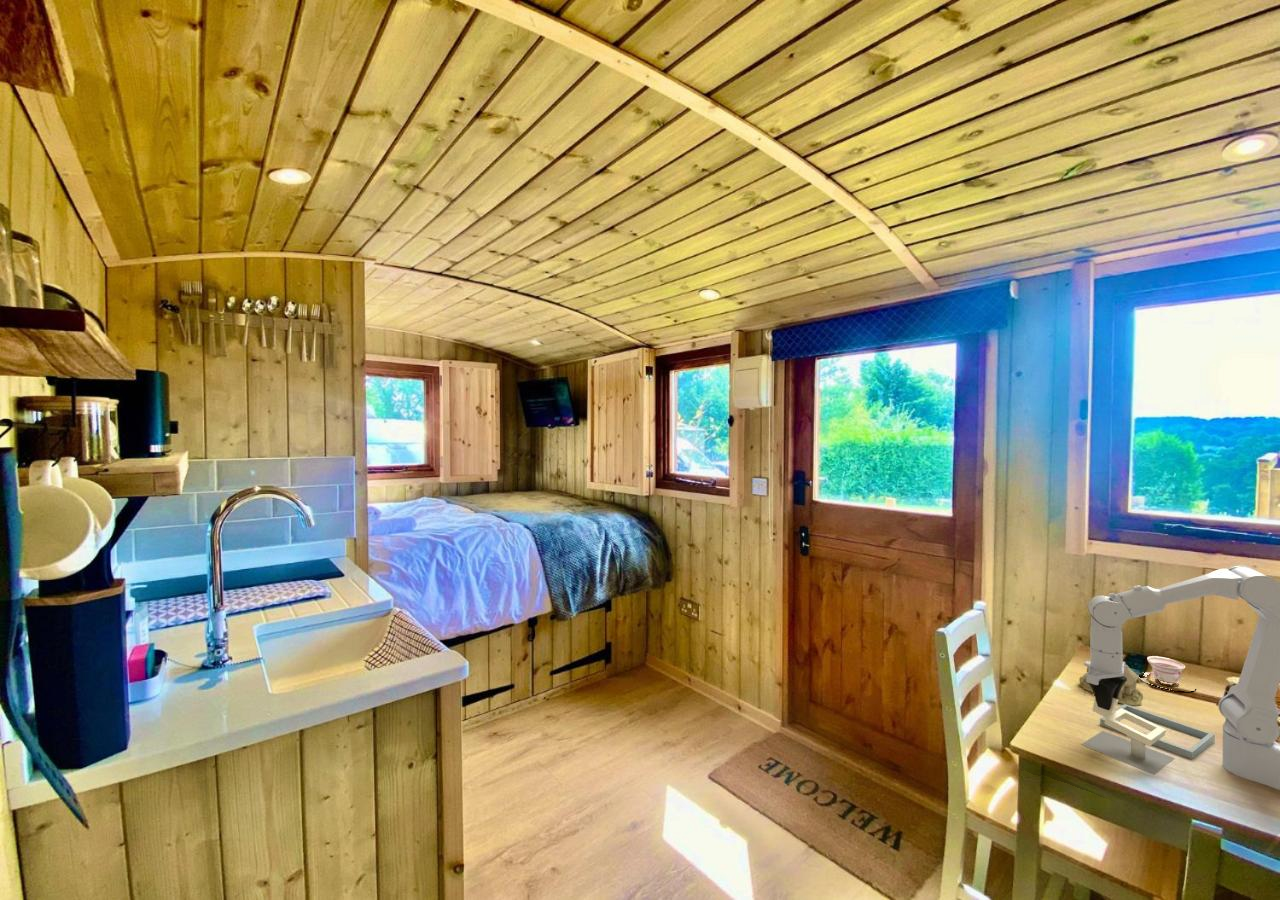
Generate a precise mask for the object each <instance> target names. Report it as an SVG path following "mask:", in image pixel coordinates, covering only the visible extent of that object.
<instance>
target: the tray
mask: <svg viewBox="0 0 1280 900" xmlns="http://www.w3.org/2000/svg"><path fill="white" fill-rule="evenodd" d="M1121 708H1122V709H1124V710H1126V711H1129V712H1131V713H1133V714H1135V715H1137V716H1139V717H1141V718H1143V719H1145V720H1147V721H1150V722H1152V723H1154V724H1156V725H1158V726H1160V727H1163V728H1167V729H1170V730H1173V731H1176V732H1178V733H1182V734H1184V735H1188V736H1190V737H1194V738H1197V739H1199V741H1198V742H1196V743H1195V744H1194V745H1193V746H1190V748H1189V749H1188V748H1186V747H1183V746H1180V745H1177V744H1175V743H1173V742H1169V741H1167V740H1164V739H1162V738H1160V739H1159V740H1158V741H1156V742H1155V743H1154V744H1152V746H1155V747H1159V748H1162V749H1164V750H1167V751H1170V752H1172V753H1175V754H1178V755H1180V756H1183V757H1185V758H1187V759H1191V760H1193V759H1195V758H1196V757H1197V756H1198V755H1199V754H1201V753H1202V752H1203V751H1204V750H1205V749H1207V748H1208V747H1209V746H1210V745H1212V744H1215V743H1216V741H1215V738H1216V737H1215V734H1216V733H1212V732H1210V731H1206V730H1203V729H1200V728H1197V727H1194V726H1191V725H1189V724H1185V723H1182V722H1179V721H1177V720H1173V719H1171V718H1167V717H1164V716H1161V715H1159V714H1156V713H1154V712H1153V713H1152V712H1150V711H1147V710H1144V709H1140V708H1138V707H1135V706H1133V705H1127V704H1122V705H1120V706H1119V707H1117V708H1116V711H1117V710H1119V709H1121ZM1105 718H1106V717H1104V716H1102V717H1100V719H1099V726H1103V727H1106V728H1108V729H1111V730H1113V731H1116V732H1117V733H1118V732H1119V733H1121V734H1123V733H1122V732H1120V731H1118V730H1116V729H1114V728H1112V727H1110V726H1108V725H1106V724H1104V723H1105ZM1140 732H1141V733H1143V734H1145V735H1147V734H1148V733H1145V732H1142V731H1140Z"/></svg>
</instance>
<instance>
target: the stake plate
mask: <svg viewBox="0 0 1280 900" xmlns="http://www.w3.org/2000/svg"><path fill="white" fill-rule="evenodd" d="M1126 738H1128V739H1130V740H1128V739H1125V738H1124V737H1121V736H1118V735H1115V734H1112V733H1111V732H1107V731H1105V730H1101V731H1100V732H1099V733H1097V734H1095V735H1094V736H1092V737H1090V738H1088V740H1087V739H1086V741H1084V742H1082V743H1081V744H1080V745H1081V746H1084V747H1086V748H1089V749H1091V750H1093V751H1095V752H1099V754H1103V755H1105V756H1108V757H1110V758H1111V759H1112V758H1113V759H1115V760H1117V761H1119V762H1123V763H1124V764H1127V765H1130V766H1132V767H1134V768H1137V769H1140V770H1142V771H1144V772H1146V773H1149V774H1152V775H1156V774H1157V773H1158V772H1159V771H1161V770H1162V769H1163V768H1165V767H1166V766H1167V765H1168V764H1170V763H1171V762H1173V761H1174V760H1175V757H1173V756H1170V755H1168V754H1165V753H1163V752H1160V751H1157V750H1154V749H1152V748H1149V747H1147V746H1146V744H1144V743H1142V742H1140V741H1138V740H1136V739H1134V738H1132V737H1130V736H1128V735H1126Z"/></svg>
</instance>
